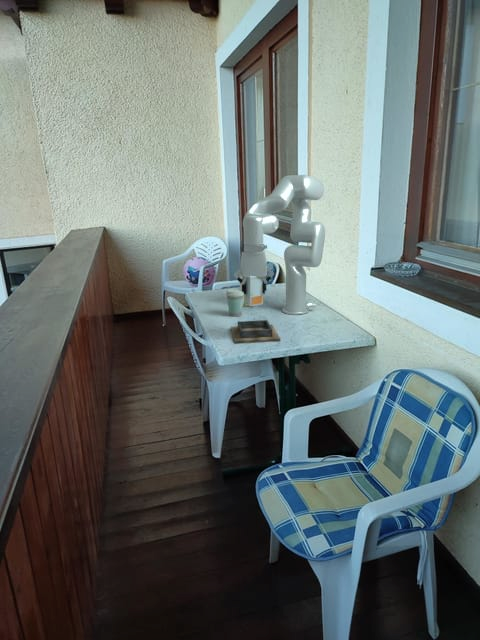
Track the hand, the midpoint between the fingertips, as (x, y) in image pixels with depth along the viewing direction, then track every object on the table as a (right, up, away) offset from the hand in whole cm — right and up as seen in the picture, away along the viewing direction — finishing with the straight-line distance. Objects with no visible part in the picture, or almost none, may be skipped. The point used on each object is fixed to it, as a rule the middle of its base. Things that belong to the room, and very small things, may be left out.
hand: (254, 292), depth 176 cm
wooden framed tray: (0, -17, +5) cm, 18 cm away
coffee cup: (-8, -9, +33) cm, 35 cm away
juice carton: (-1, -3, +48) cm, 49 cm away
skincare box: (0, -5, +2) cm, 5 cm away
